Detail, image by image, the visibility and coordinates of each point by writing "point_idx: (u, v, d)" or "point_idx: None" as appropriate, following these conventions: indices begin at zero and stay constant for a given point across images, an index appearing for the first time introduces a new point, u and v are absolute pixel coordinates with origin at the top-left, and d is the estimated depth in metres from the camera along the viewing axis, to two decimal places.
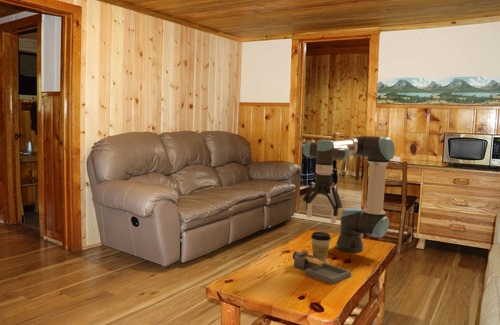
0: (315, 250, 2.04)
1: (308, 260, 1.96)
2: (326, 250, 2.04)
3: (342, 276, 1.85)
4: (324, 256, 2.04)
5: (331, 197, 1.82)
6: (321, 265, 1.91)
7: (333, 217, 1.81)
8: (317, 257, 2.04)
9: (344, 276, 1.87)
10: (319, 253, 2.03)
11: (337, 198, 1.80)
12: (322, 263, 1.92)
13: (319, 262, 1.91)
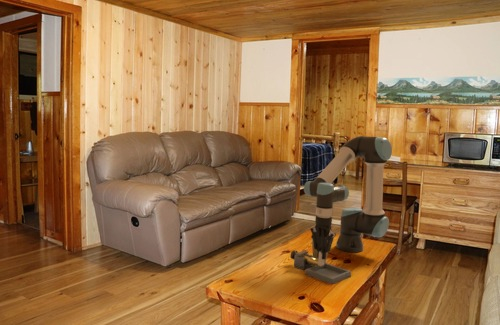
0: (315, 250, 2.04)
1: (306, 259, 1.97)
2: None
3: (342, 276, 1.85)
4: None
5: (325, 241, 1.90)
6: None
7: (321, 260, 1.91)
8: (317, 257, 2.04)
9: (344, 276, 1.87)
10: None
11: (329, 244, 1.88)
12: None
13: (317, 261, 1.92)
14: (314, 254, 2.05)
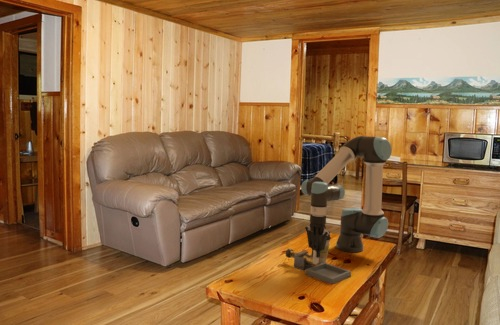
0: None
1: None
2: (326, 250, 2.04)
3: (342, 276, 1.85)
4: (324, 256, 2.04)
5: (319, 239, 1.92)
6: None
7: (316, 258, 1.93)
8: None
9: (344, 276, 1.87)
10: None
11: (324, 242, 1.90)
12: None
13: (311, 259, 1.95)
14: None
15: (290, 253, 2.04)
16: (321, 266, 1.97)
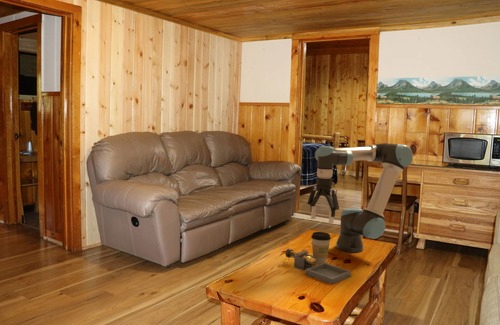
0: (315, 250, 2.04)
1: None
2: (326, 250, 2.04)
3: (342, 276, 1.85)
4: (324, 256, 2.04)
5: (330, 199, 2.01)
6: (313, 262, 1.95)
7: (331, 218, 2.01)
8: (317, 257, 2.04)
9: (344, 276, 1.87)
10: (319, 253, 2.03)
11: (335, 201, 1.98)
12: (314, 260, 1.95)
13: (311, 259, 1.95)
14: (314, 254, 2.05)
15: (290, 253, 2.04)
16: (321, 266, 1.97)
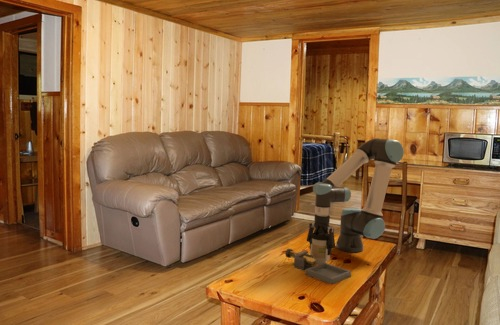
0: (315, 250, 2.04)
1: None
2: None
3: (342, 276, 1.85)
4: (324, 256, 2.04)
5: None
6: (313, 262, 1.95)
7: (327, 256, 2.03)
8: (317, 257, 2.04)
9: (344, 276, 1.87)
10: (319, 253, 2.03)
11: (332, 239, 2.01)
12: (314, 260, 1.95)
13: (311, 259, 1.95)
14: (314, 254, 2.05)
15: (290, 253, 2.04)
16: (321, 266, 1.97)
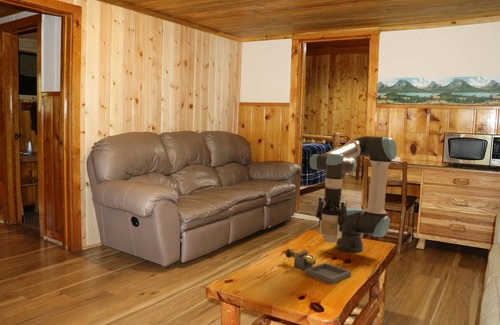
0: (325, 226, 1.85)
1: None
2: None
3: (342, 276, 1.85)
4: (335, 233, 1.85)
5: None
6: (313, 262, 1.95)
7: (339, 232, 1.84)
8: (328, 234, 1.86)
9: (344, 276, 1.87)
10: (329, 230, 1.85)
11: (344, 214, 1.82)
12: (314, 260, 1.95)
13: (311, 259, 1.95)
14: (324, 231, 1.87)
15: (290, 253, 2.04)
16: (321, 266, 1.97)
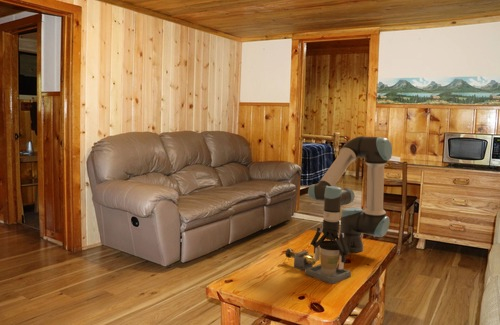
0: (324, 261, 1.87)
1: None
2: (336, 261, 1.87)
3: (342, 276, 1.85)
4: (333, 267, 1.87)
5: (339, 243, 1.85)
6: (313, 262, 1.95)
7: (341, 263, 1.84)
8: (326, 268, 1.87)
9: (344, 276, 1.87)
10: (328, 264, 1.86)
11: (345, 245, 1.83)
12: (314, 260, 1.95)
13: (311, 259, 1.95)
14: (322, 265, 1.88)
15: (290, 253, 2.04)
16: None
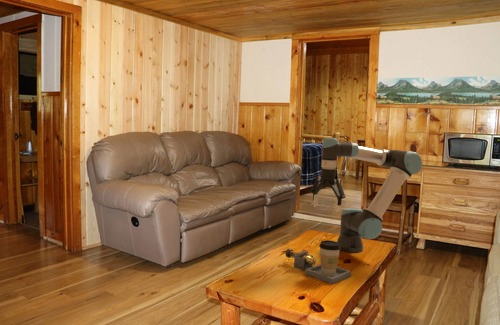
0: (324, 261, 1.87)
1: None
2: (336, 261, 1.87)
3: (342, 276, 1.85)
4: (333, 267, 1.87)
5: (335, 189, 2.06)
6: (313, 262, 1.95)
7: (337, 206, 2.05)
8: (326, 268, 1.87)
9: (344, 276, 1.87)
10: (328, 264, 1.86)
11: (341, 189, 2.03)
12: (314, 260, 1.95)
13: (311, 259, 1.95)
14: (322, 265, 1.88)
15: (290, 253, 2.04)
16: None
